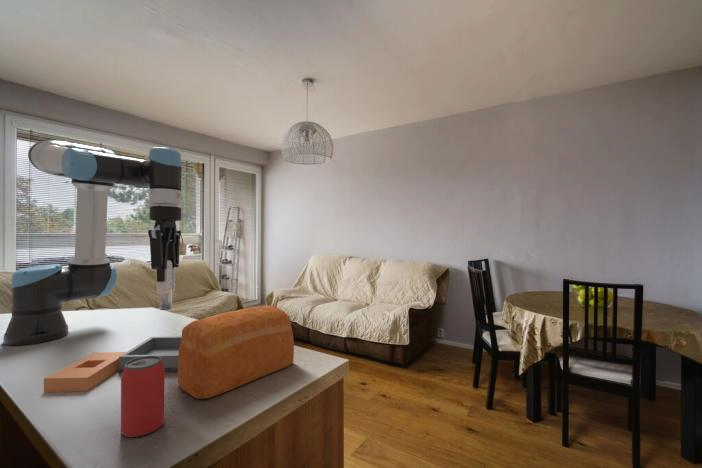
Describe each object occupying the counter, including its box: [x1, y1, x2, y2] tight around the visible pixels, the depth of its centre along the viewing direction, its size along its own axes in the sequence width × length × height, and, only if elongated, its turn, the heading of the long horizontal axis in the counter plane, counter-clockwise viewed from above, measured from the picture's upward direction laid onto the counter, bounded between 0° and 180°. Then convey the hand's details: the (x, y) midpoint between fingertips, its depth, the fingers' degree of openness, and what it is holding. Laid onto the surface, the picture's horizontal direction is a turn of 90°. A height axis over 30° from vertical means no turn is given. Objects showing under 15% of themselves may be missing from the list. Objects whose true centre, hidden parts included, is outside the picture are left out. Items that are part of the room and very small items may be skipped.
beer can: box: [120, 356, 165, 438], centre depth 58 cm, size 7×7×12 cm
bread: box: [177, 305, 295, 400], centre depth 80 cm, size 14×26×16 cm, turn 141°
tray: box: [118, 335, 182, 374], centre depth 88 cm, size 15×15×4 cm
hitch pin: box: [159, 259, 173, 311], centre depth 88 cm, size 3×3×14 cm
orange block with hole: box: [43, 351, 127, 393], centre depth 78 cm, size 15×9×3 cm, turn 4°
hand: (165, 292), depth 88 cm, fingers closed on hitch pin, 3 cm apart
